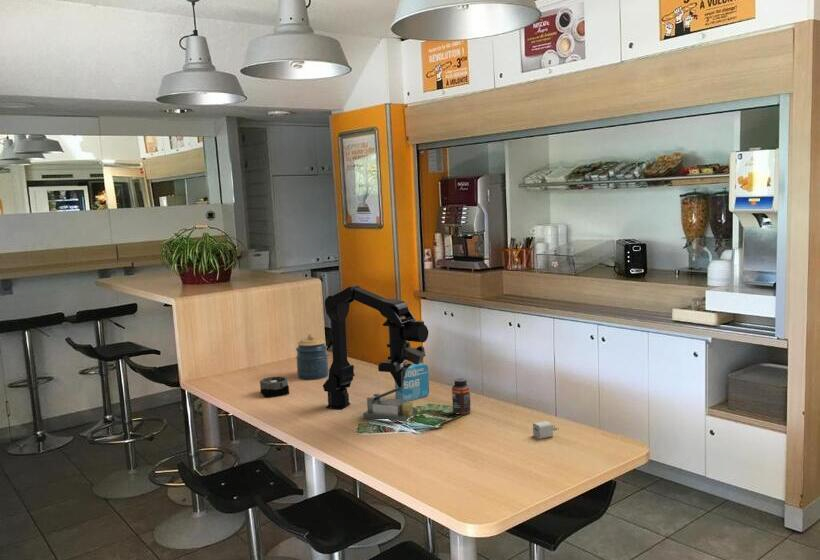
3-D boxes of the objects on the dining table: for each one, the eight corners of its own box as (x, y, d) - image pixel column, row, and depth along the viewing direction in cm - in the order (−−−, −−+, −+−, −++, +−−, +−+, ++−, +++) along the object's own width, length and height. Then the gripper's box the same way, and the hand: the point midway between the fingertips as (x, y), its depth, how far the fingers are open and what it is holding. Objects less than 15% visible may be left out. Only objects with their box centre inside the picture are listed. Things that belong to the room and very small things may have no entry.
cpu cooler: (257, 378, 271) (283, 374, 275) (258, 392, 272) (284, 389, 276) (263, 384, 262) (290, 380, 266) (264, 399, 262) (291, 395, 266)
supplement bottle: (473, 410, 238) (472, 377, 236) (467, 416, 232) (466, 382, 231) (456, 409, 240) (455, 376, 239) (450, 414, 235) (448, 381, 233)
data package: (402, 402, 251) (401, 369, 249) (395, 400, 254) (393, 367, 253) (429, 395, 257) (428, 363, 256) (422, 393, 261) (421, 361, 260)
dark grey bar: (370, 403, 236) (368, 398, 236) (374, 400, 239) (372, 396, 239) (401, 390, 231) (399, 386, 231) (405, 388, 233) (403, 383, 233)
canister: (333, 372, 298) (331, 330, 296) (322, 380, 286) (320, 337, 284) (304, 371, 301) (301, 330, 299) (292, 379, 289) (289, 337, 286)
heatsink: (363, 419, 234) (362, 399, 233) (377, 410, 243) (376, 391, 242) (404, 423, 228) (403, 403, 227) (417, 414, 236) (416, 395, 236)
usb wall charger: (533, 435, 212) (532, 422, 211) (553, 431, 214) (553, 419, 214) (540, 439, 208) (539, 426, 207) (560, 435, 210) (560, 422, 210)
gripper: (408, 347, 219) (410, 396, 220) (432, 335, 235) (434, 381, 237) (376, 345, 223) (378, 393, 225) (401, 334, 240) (404, 379, 242)
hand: (400, 386), depth 232 cm, fingers closed, pressing on dark grey bar
